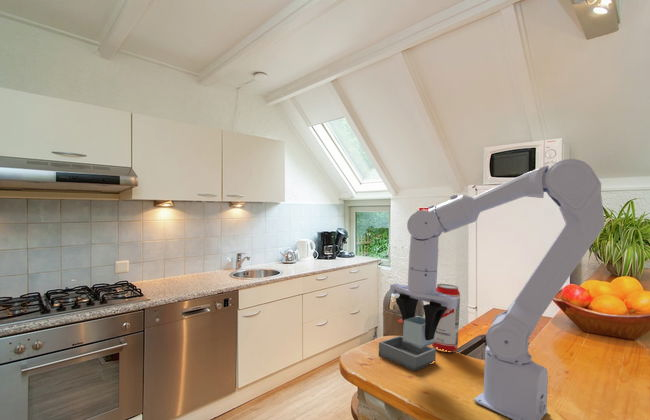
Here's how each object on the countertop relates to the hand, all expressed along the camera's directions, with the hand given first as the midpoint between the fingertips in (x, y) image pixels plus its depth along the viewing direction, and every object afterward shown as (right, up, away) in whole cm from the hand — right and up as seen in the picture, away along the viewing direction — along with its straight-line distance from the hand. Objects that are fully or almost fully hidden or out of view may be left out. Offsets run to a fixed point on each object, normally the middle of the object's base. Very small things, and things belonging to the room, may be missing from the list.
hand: (419, 335), depth 68 cm
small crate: (0, -1, 0) cm, 1 cm away
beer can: (+11, -10, +16) cm, 22 cm away
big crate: (0, -9, +8) cm, 12 cm away
